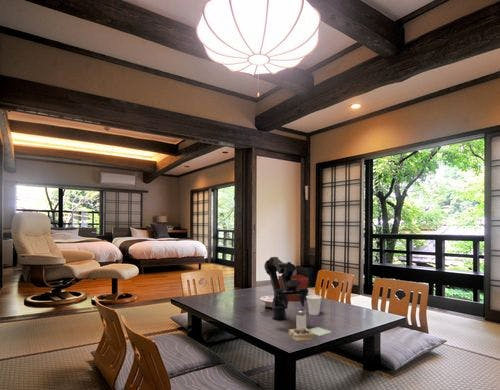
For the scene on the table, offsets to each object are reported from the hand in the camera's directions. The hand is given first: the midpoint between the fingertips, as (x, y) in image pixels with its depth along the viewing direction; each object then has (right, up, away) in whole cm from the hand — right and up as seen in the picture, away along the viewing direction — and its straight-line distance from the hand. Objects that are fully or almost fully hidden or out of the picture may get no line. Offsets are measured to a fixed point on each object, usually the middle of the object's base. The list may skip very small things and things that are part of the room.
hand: (295, 307), depth 173 cm
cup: (+17, -17, +34) cm, 42 cm away
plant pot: (+9, -21, +76) cm, 79 cm away
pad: (+12, -13, 0) cm, 18 cm away
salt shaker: (+2, -12, -9) cm, 15 cm away
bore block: (+2, -13, -9) cm, 15 cm away
